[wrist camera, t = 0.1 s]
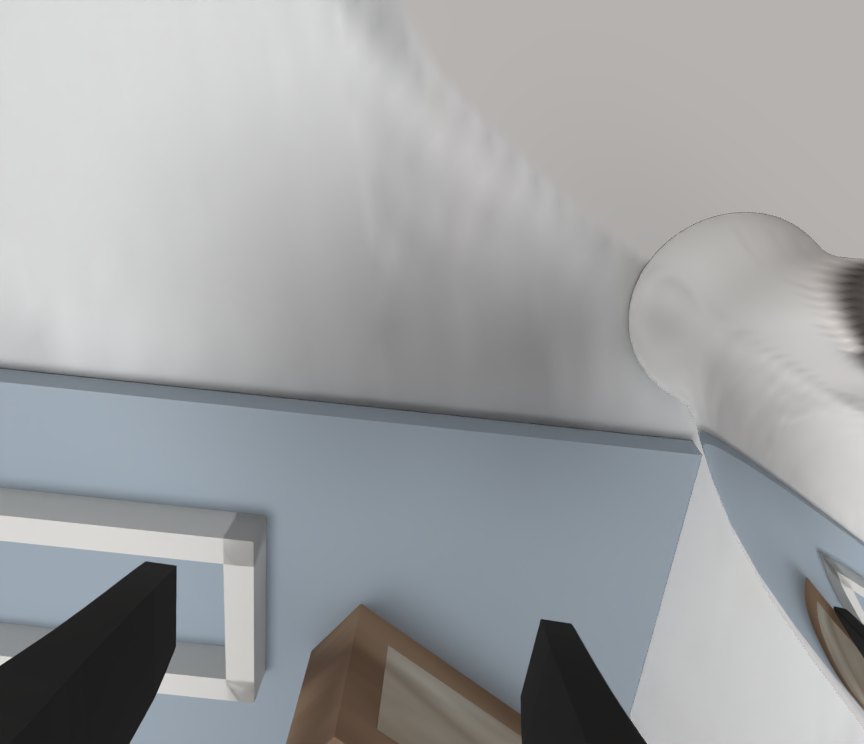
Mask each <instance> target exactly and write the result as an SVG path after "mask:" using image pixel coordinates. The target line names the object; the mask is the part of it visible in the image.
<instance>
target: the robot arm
mask: <svg viewBox="0 0 864 744" xmlns="http://www.w3.org/2000/svg"><path fill="white" fill-rule="evenodd" d="M176 599H177V566H176V565H169V564H162V563H155V562H148V561H145V562H144V563H142V564H141V565H140V566H138V567H137V568H135V569H134V570H133V571H131V572H130V573H129V574H127V575H126V576H125V577H124V578H122V579H121V580H120V581H118V582H117V583H116V584H114V585H113V586H112V587H110V588H109V589H108V590H107V591H105V592H104V593H103V594H101V595H100V596H99V597H97V598H96V599H95V600H93V601H92V602H91V603H89V604H88V605H87V606H85V607H84V608H83V609H81V610H80V611H79V612H77V613H76V614H74V615H73V616H72V617H70V618H69V619H68V620H66V621H65V622H63V623H62V624H61V625H59V626H58V627H57V628H55V629H54V630H52V631H51V632H50V633H48V634H47V635H45V636H44V637H42V638H41V639H39V640H38V641H36V642H35V643H33V644H32V645H30V646H29V647H27V648H26V649H24V650H23V651H21V652H20V653H18V654H17V655H15V656H14V657H12V658H11V659H9V660H8V661H6V662H5V663H3V664H2V665H0V744H130V742H131V740H132V738H133V737H134V735H135V733H136V731H137V729H138V728H139V726H140V724H141V722H142V720H143V719H144V717H145V715H146V713H147V711H148V710H149V708H150V706H151V704H152V702H153V700H154V698H155V696H156V694H157V692H158V689H159V687H160V685H161V682H162V680H163V678H164V675H165V673H166V671H167V668H168V666H169V663H170V661H171V658H172V656H173V653H174V651H175V648H176ZM520 699H521V736H522V744H647V743H646V742H645V740H644V739H643V738H642V736H641V735H640V733H639V732H638V730H637V729H636V727H635V726H634V724H633V723H632V721H631V720H630V718H629V717H628V715H627V714H626V712H625V711H624V709H623V708H622V706H621V705H620V703H619V701H618V700H617V698H616V697H615V695H614V694H613V692H612V691H611V689H610V687H609V686H608V684H607V682H606V681H605V679H604V677H603V676H602V674H601V672H600V671H599V669H598V667H597V666H596V664H595V662H594V661H593V659H592V657H591V656H590V654H589V652H588V650H587V649H586V647H585V645H584V643H583V642H582V640H581V638H580V636H579V635H578V633H577V631H576V629H575V628H574V626H573V625H572V624H571V623H565V622H558V621H551V620H544V619H541V620H540V624H539V628H538V631H537V635H536V639H535V643H534V647H533V650H532V654H531V658H530V662H529V666H528V670H527V673H526V677H525V681H524V685H523V689H522V692H521V696H520Z"/></svg>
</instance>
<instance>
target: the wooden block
mask: <svg viewBox="0 0 864 744" xmlns="http://www.w3.org/2000/svg"><path fill="white" fill-rule="evenodd" d="M286 744H522V736H521V714H520V713H518V712H517V711H515V710H514V709H512V708H511V707H509V706H508V705H507V704H505V703H504V702H502V701H501V700H499V699H498V698H497V697H495V696H494V695H492V694H491V693H489V692H488V691H486V690H485V689H484V688H482V687H481V686H479V685H478V684H476V683H475V682H473V681H472V680H471V679H469V678H468V677H466V676H465V675H463V674H462V673H460V672H459V671H458V670H456V669H455V668H453V667H452V666H450V665H449V664H447V663H446V662H445V661H443V660H442V659H440V658H439V657H437V656H436V655H434V654H433V653H432V652H430V651H429V650H427V649H426V648H424V647H423V646H422V645H420V644H419V643H417V642H416V641H414V640H413V639H411V638H410V637H409V636H407V635H406V634H404V633H403V632H401V631H400V630H398V629H397V628H396V627H394V626H393V625H391V624H390V623H388V622H387V621H385V620H384V619H383V618H381V617H380V616H378V615H377V614H375V613H374V612H372V611H371V610H370V609H368V608H367V607H365V606H364V605H362V604H360V605H359V606H358V607H357V608H356V609H355V610H354V611H353V612H351V613H350V614H349V615H348V616H347V617H346V618H345V619H344V620H343V621H342V622H341V623H340V624H339V625H338V626H337V627H336V628H335V629H334V630H333V631H332V632H331V633H330V634H329V635H328V636H327V637H325V638H324V639H323V640H322V641H321V642H320V643H319V644H318V645H317V646H316V647H315V648H314V649H313V650H312V651H311V654H310V658H309V662H308V665H307V669H306V673H305V676H304V680H303V684H302V687H301V691H300V694H299V698H298V702H297V705H296V709H295V713H294V716H293V720H292V724H291V727H290V731H289V734H288V738H287V742H286Z"/></svg>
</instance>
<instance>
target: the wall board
mask: <svg viewBox="0 0 864 744" xmlns="http://www.w3.org/2000/svg"><path fill="white" fill-rule="evenodd" d="M701 458H702V454H701V453H700V451H699V450H698V448H697V447H696V446H695V444H694V443H693V441H690V440H681V439H671V438H662V437H652V436H642V435H633V434H623V433H614V432H604V431H594V430H585V429H575V428H566V427H556V426H546V425H537V424H527V423H518V422H508V421H498V420H489V419H479V418H470V417H460V416H451V415H441V414H431V413H422V412H412V411H403V410H393V409H383V408H374V407H364V406H355V405H345V404H335V403H326V402H316V401H307V400H297V399H287V398H278V397H268V396H259V395H249V394H239V393H230V392H220V391H211V390H201V389H192V388H182V387H172V386H163V385H153V384H144V383H134V382H124V381H115V380H105V379H96V378H86V377H76V376H67V375H57V374H48V373H38V372H28V371H19V370H9V369H0V665H2V664H3V663H5V662H6V661H8V660H9V659H11V658H12V657H14V656H15V655H17V654H18V653H20V652H21V651H23V650H24V649H26V648H27V647H29V646H30V645H32V644H33V643H35V642H36V641H38V640H39V639H41V638H42V637H44V636H45V635H47V634H48V633H50V632H51V631H52V630H54V629H55V628H57V627H58V626H59V625H61V624H62V623H63V622H65V621H66V620H68V619H69V618H70V617H72V616H73V615H74V614H76V613H77V612H79V611H80V610H81V609H83V608H84V607H85V606H87V605H88V604H89V603H91V602H92V601H93V600H95V599H96V598H97V597H99V596H100V595H101V594H103V593H104V592H105V591H107V590H108V589H109V588H110V587H112V586H113V585H114V584H116V583H117V582H118V581H120V580H121V579H122V578H124V577H125V576H126V575H127V574H129V573H130V572H131V571H133V570H134V569H135V568H137V567H138V566H140V565H141V564H142V563H144V562H145V561H148V562H155V563H162V564H169V565H176V566H177V599H176V648H175V651H174V653H173V656H172V658H171V661H170V663H169V666H168V668H167V671H166V673H165V675H164V678H163V680H162V682H161V685H160V687H159V689H158V692H157V694H156V696H155V698H154V700H153V702H152V704H151V706H150V708H149V710H148V711H147V713H146V715H145V717H144V719H143V720H142V722H141V724H140V726H139V728H138V729H137V731H136V733H135V735H134V737H133V738H132V740H131V742H130V744H286V742H287V738H288V734H289V731H290V727H291V724H292V720H293V716H294V713H295V709H296V705H297V702H298V698H299V694H300V691H301V687H302V684H303V680H304V676H305V673H306V669H307V665H308V662H309V658H310V654H311V651H312V650H313V649H314V648H315V647H316V646H317V645H318V644H319V643H320V642H321V641H322V640H323V639H324V638H325V637H327V636H328V635H329V634H330V633H331V632H332V631H333V630H334V629H335V628H336V627H337V626H338V625H339V624H340V623H341V622H342V621H343V620H344V619H345V618H346V617H347V616H348V615H349V614H350V613H351V612H353V611H354V610H355V609H356V608H357V607H358V606H359V605H360V604H362V605H364V606H365V607H367V608H368V609H370V610H371V611H372V612H374V613H375V614H377V615H378V616H380V617H381V618H383V619H384V620H385V621H387V622H388V623H390V624H391V625H393V626H394V627H396V628H397V629H398V630H400V631H401V632H403V633H404V634H406V635H407V636H409V637H410V638H411V639H413V640H414V641H416V642H417V643H419V644H420V645H422V646H423V647H424V648H426V649H427V650H429V651H430V652H432V653H433V654H434V655H436V656H437V657H439V658H440V659H442V660H443V661H445V662H446V663H447V664H449V665H450V666H452V667H453V668H455V669H456V670H458V671H459V672H460V673H462V674H463V675H465V676H466V677H468V678H469V679H471V680H472V681H473V682H475V683H476V684H478V685H479V686H481V687H482V688H484V689H485V690H486V691H488V692H489V693H491V694H492V695H494V696H495V697H497V698H498V699H499V700H501V701H502V702H504V703H505V704H507V705H508V706H509V707H511V708H512V709H514V710H515V711H517V712H518V713H520V714H521V699H520V696H521V692H522V689H523V685H524V681H525V677H526V673H527V670H528V666H529V662H530V658H531V654H532V650H533V647H534V643H535V639H536V635H537V631H538V628H539V624H540V620H541V619H544V620H551V621H558V622H565V623H571V624H572V625H573V626H574V628H575V629H576V631H577V633H578V635H579V636H580V638H581V640H582V642H583V643H584V645H585V647H586V649H587V650H588V652H589V654H590V656H591V657H592V659H593V661H594V662H595V664H596V666H597V667H598V669H599V671H600V672H601V674H602V676H603V677H604V679H605V681H606V682H607V684H608V686H609V687H610V689H611V691H612V692H613V694H614V695H615V697H616V698H617V700H618V701H619V703H620V705H621V706H622V708H623V709H624V711H625V712H626V714H627V715H628V717H630V713H631V709H632V706H633V702H634V699H635V695H636V691H637V688H638V684H639V681H640V677H641V673H642V670H643V666H644V663H645V659H646V655H647V652H648V648H649V645H650V641H651V637H652V634H653V630H654V627H655V623H656V619H657V616H658V612H659V609H660V605H661V601H662V598H663V594H664V591H665V587H666V584H667V580H668V576H669V573H670V569H671V566H672V562H673V558H674V555H675V551H676V548H677V544H678V540H679V537H680V533H681V530H682V526H683V522H684V519H685V515H686V512H687V508H688V504H689V501H690V497H691V494H692V490H693V486H694V483H695V479H696V476H697V472H698V468H699V465H700V461H701Z"/></svg>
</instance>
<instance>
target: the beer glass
mask: <svg viewBox="0 0 864 744" xmlns="http://www.w3.org/2000/svg"><path fill="white" fill-rule="evenodd" d="M628 323H629V334H630V339H631V344H632V347H633V350H634V353H635V356H636V358H637V360H638V362H639V363H640V365H641V367H642V368H643V370H644V371H645V372H646V373H647V375H648V376H649V377H650V378H651V379H652V380H653V381H654V382H655V383H656V384H657V385H658V386H659V387H660V388H662V389H663V390H664V391H666V392H667V393H668V394H670V395H671V396H673V397H674V398H676V399H678V400H679V401H681V402H682V403H684V404H685V405H687V406H688V407H689V409H690V411H691V413H692V416H693V419H694V421H695V425H696V428H697V431H698V435H699V438H700V441H701V445H702V448H703V451H704V454H705V457H706V461H707V464H708V467H709V470H710V473H711V476H712V479H713V482H714V485H715V488H716V491H717V493H718V496H719V498H720V500H721V503H722V505H723V508H724V510H725V512H726V515H727V517H728V520H729V522H730V524H731V527H732V529H733V532H734V534H735V536H736V539H737V541H738V543H739V545H740V547H741V548H742V550H743V552H744V554H745V555H746V557H747V559H748V561H749V562H750V564H751V566H752V568H753V569H754V571H755V573H756V575H757V576H758V578H759V580H760V582H761V583H762V585H763V587H764V589H765V590H766V592H767V594H768V596H769V597H770V599H771V600H772V602H773V604H774V605H775V607H776V608H777V610H778V611H779V612H780V614H781V615H782V617H783V618H784V620H785V621H786V623H787V624H788V626H789V627H790V629H791V630H792V631H793V633H794V634H795V636H796V637H797V639H798V640H799V642H800V643H801V645H802V646H803V648H804V649H805V650H806V652H807V653H808V655H809V656H810V658H811V659H812V661H813V662H814V664H815V665H816V666H817V668H818V669H819V670H820V671H821V673H822V674H823V675H824V677H825V678H826V679H827V681H828V682H829V683H830V685H831V686H832V687H833V689H834V690H835V691H836V693H837V694H838V695H839V697H840V698H841V699H842V701H843V702H844V703H845V705H846V706H847V707H848V709H849V710H850V711H851V713H852V714H853V715H854V717H855V718H856V719H857V721H858V722H859V723H860V724H861V726H862V727H863V728H864V259H854V258H845V257H837V256H834V255H831V254H829V253H827V252H825V251H824V250H822V249H821V248H820V247H819V245H818V244H817V243H816V242H815V241H814V240H813V239H812V238H810V236H808V235H807V234H806V233H805V232H804V231H803V230H801V229H800V228H798V227H797V226H795V225H793V224H792V223H790V222H788V221H786V220H783V219H781V218H778V217H775V216H771V215H767V214H762V213H753V212H738V213H730V214H724V215H719V216H715V217H711V218H708V219H705V220H703V221H700V222H698V223H696V224H693V225H691V226H690V227H688V228H686V229H684V230H683V231H681V232H680V233H678V234H677V235H675V236H674V237H673V238H671V239H670V240H669V241H668V242H666V243H665V244H664V245H663V246H662V247H661V248H660V249H659V250H658V251H657V252H656V253H655V255H654V256H653V257H652V258H651V259H650V261H649V262H648V263H647V265H646V266H645V268H644V270H643V271H642V273H641V275H640V277H639V279H638V281H637V283H636V285H635V288H634V291H633V294H632V298H631V302H630V307H629V321H628Z"/></svg>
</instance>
